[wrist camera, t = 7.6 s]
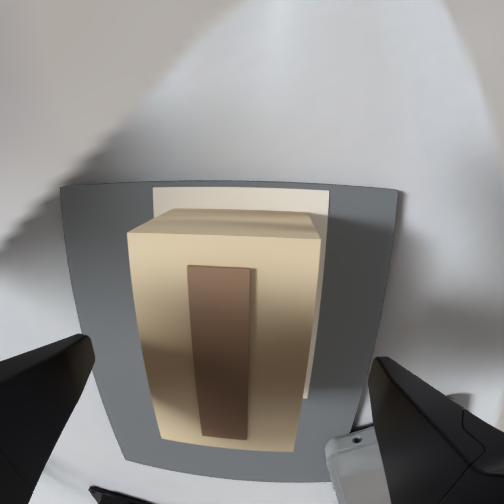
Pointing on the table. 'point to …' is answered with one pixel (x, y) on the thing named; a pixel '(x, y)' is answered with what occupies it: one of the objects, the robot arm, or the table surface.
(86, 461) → the table surface
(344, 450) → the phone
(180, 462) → the mat
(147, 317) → the cream block with stripe
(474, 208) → the table surface
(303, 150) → the table surface
